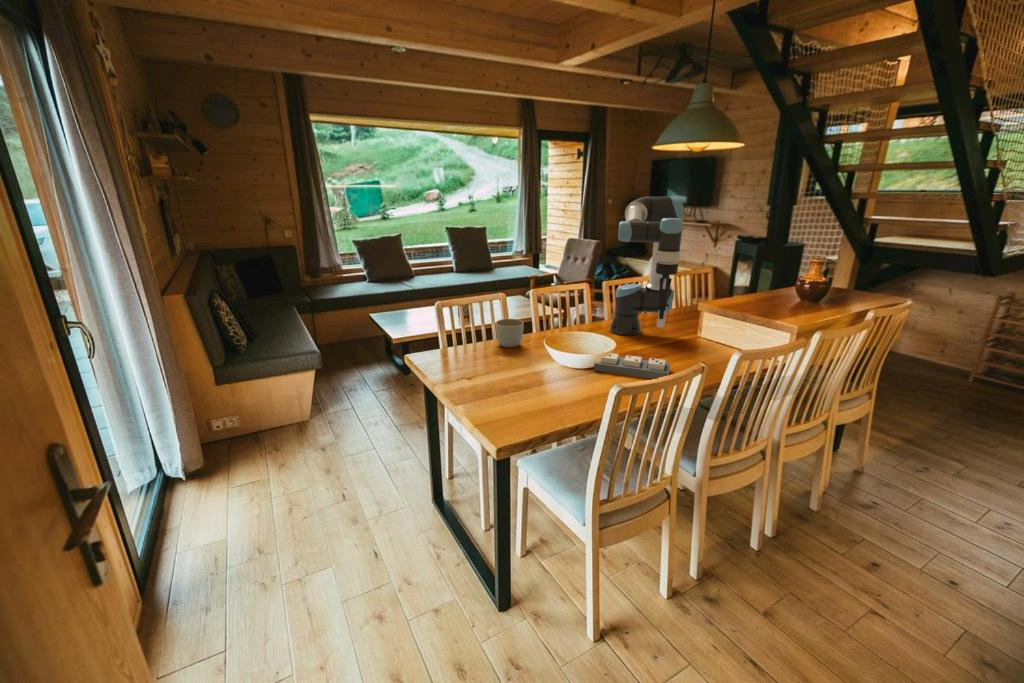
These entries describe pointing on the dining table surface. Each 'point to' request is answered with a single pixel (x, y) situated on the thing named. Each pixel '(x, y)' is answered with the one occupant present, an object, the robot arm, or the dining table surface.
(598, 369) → the board
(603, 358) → the tile one pip
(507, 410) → the dining table surface
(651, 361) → the tile three pips
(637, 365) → the tile two pips
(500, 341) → the planter
